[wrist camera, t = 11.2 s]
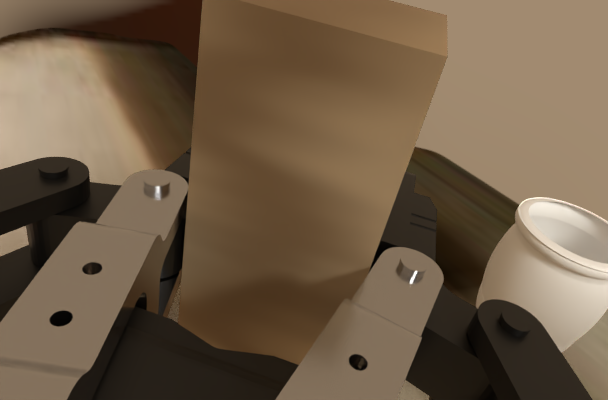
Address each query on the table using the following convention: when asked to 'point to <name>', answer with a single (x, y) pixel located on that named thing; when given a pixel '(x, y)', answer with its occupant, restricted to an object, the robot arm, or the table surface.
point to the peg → (297, 160)
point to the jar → (552, 267)
